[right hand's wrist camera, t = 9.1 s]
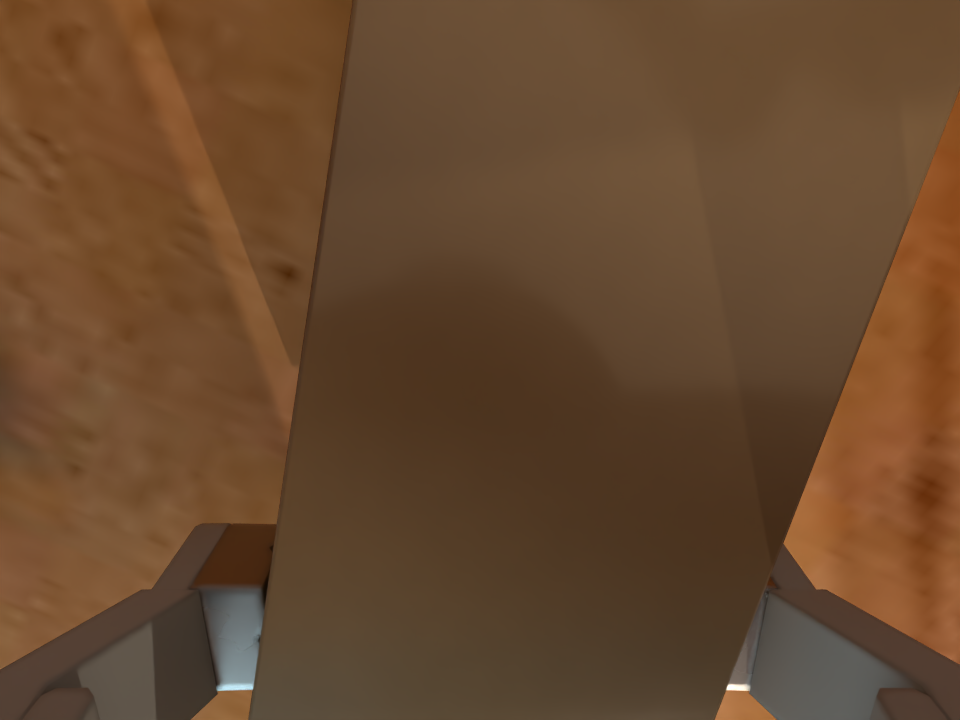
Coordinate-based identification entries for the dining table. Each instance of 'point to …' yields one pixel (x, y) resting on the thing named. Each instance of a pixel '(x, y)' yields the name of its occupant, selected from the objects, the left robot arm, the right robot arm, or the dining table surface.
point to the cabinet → (581, 342)
